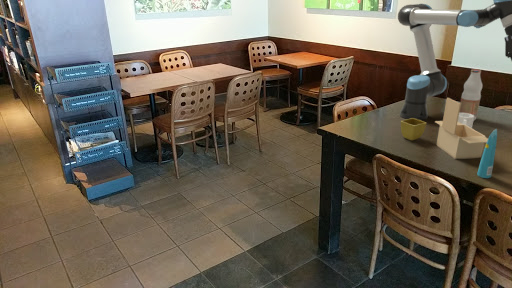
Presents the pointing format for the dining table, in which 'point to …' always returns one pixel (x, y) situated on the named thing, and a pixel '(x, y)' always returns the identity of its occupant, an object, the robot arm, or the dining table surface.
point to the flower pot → (412, 128)
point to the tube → (488, 156)
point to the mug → (466, 119)
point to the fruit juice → (471, 94)
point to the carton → (461, 142)
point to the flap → (451, 115)
